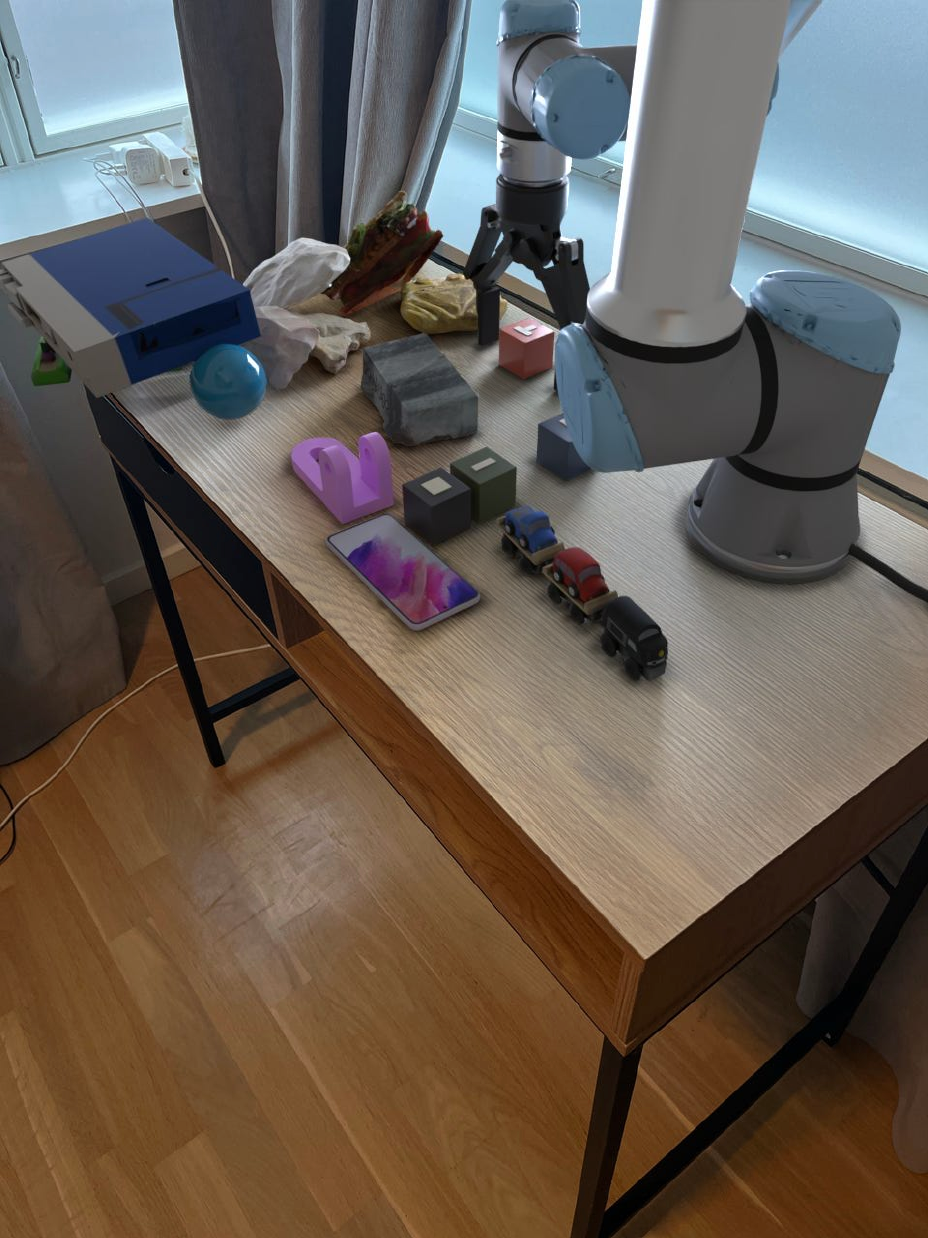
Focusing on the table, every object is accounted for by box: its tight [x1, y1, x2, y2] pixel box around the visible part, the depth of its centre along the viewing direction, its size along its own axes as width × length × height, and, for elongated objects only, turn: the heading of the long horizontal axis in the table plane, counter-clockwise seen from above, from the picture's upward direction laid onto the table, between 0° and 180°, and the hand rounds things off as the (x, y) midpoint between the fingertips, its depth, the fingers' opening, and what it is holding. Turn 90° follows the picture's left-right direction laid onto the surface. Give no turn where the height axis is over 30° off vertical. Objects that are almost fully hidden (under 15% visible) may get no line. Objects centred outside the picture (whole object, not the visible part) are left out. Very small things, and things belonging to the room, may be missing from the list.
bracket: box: [290, 431, 395, 525], centre depth 94 cm, size 13×6×7 cm, turn 33°
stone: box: [286, 308, 371, 375], centre depth 115 cm, size 13×4×10 cm
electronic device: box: [0, 217, 261, 399], centre depth 108 cm, size 20×5×30 cm
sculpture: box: [400, 272, 509, 335], centre depth 122 cm, size 13×4×15 cm
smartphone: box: [325, 512, 481, 632], centre depth 85 cm, size 7×1×15 cm
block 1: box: [401, 466, 472, 547], centre depth 89 cm, size 4×4×5 cm
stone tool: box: [239, 306, 319, 390], centre depth 111 cm, size 9×5×15 cm
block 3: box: [535, 412, 593, 482], centre depth 97 cm, size 4×4×5 cm
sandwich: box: [319, 190, 444, 317], centre depth 122 cm, size 16×12×8 cm
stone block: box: [360, 332, 479, 447], centre depth 104 cm, size 9×14×5 cm, turn 24°
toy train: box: [495, 504, 669, 682], centre depth 81 cm, size 4×22×5 cm, turn 31°
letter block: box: [498, 317, 556, 380], centre depth 111 cm, size 4×4×5 cm
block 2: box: [449, 446, 518, 524], centre depth 92 cm, size 4×4×5 cm
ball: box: [189, 344, 268, 421], centre depth 103 cm, size 8×8×8 cm
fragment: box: [242, 237, 350, 309], centre depth 119 cm, size 15×20×5 cm
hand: (525, 363), depth 113 cm, fingers open, 13 cm apart
